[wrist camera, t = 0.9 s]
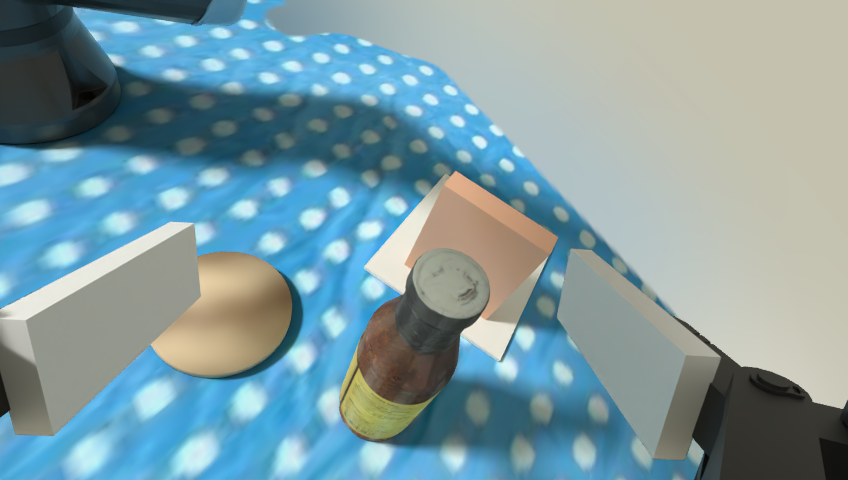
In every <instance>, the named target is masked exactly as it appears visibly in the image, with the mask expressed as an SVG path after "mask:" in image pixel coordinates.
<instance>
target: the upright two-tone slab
mask: <svg viewBox="0 0 848 480" xmlns="http://www.w3.org/2000/svg"><path fill="white" fill-rule="evenodd" d="M557 239H558V237H557V236H556V235H554V234H552V233H551V232H549V231H548V230H546V229H545V228H543V227H542V226H540V225H539V224H537V223H535V222H534V221H532V220H531V219H529V218H528V217H526V216H525V215H523V214H522V213H520V212H519V211H517V210H515V209H514V208H512V207H511V206H509V205H508V204H506V203H505V202H503V201H502V200H500V199H498V198H497V197H495V196H494V195H492V194H491V193H489V192H488V191H486V190H485V189H483V188H481V187H480V186H478V185H477V184H475V183H474V182H472V181H471V180H469V179H468V178H466V177H465V176H463V175H461V174H460V173H458V172H457V171H455V172H454V173H453V175H452V176H451V177H450V178H449V179H448V180H447V182H446V183H445V184H444V185H443V187H442V189H441V191H440V193H439V196H438V198H437V200H436V202H435V204H434V206H433V208H432V210H431V212H430V214H429V216H428V218H427V220H426V222H425V224H424V226H423V228H422V230H421V232H420V234H419V236H418V238H417V240H416V242H415V244H414V246H413V248H412V250H411V252H410V254H409V256H408V258H407V260H406V262H405V264H404V265H406V266H407V267H409V268H410V269H412V267H413V266H414V264H415V262H416V260H417V259H418V258H419V257H420V256H421V255H423V254H424V253H426V252H428V251H430V250H432V249H437V248H450V249H454V250H457V251H460V252H462V253H464V254H466V255H467V256H469V257H471V258H472V259H473V260H474V261H476V262H477V263H478V264H479V265H480V266H481V267H482V268H483V270H484V271H485V273H486V275H487V277H488V280H489V286H490V298H489V302H488V304H487V306H486V308H485V310H484V311H483V312H482V314H481V317H482V318H483V319H485V320H487V318H488V317H489V316H490V315H491V314H492V313H493V312H494V311H495V310H496V309H497V308H498V307H499V306H500V305H501V304H502V303H503V302H504V301H505V300H506V299H507V298H508V297H509V296H510V295H511V294H512V293H513V292H514V291H515V290H516V289H517V288H518V287H519V286H520V285H521V284H522V283H523V282H524V281H525V280H526V279H527V278H528V277H529V276H530V275H531V274H532V273H533V272H534V271H535V270H536V269H537V268H538V267H539V266H540V265H541V263H542V262H543V261H544V260H545V259H546V258H547V257H548V256H549V255H550V254H551V252H552V250H553V248H554V245H555V243H556V241H557Z"/></svg>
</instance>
